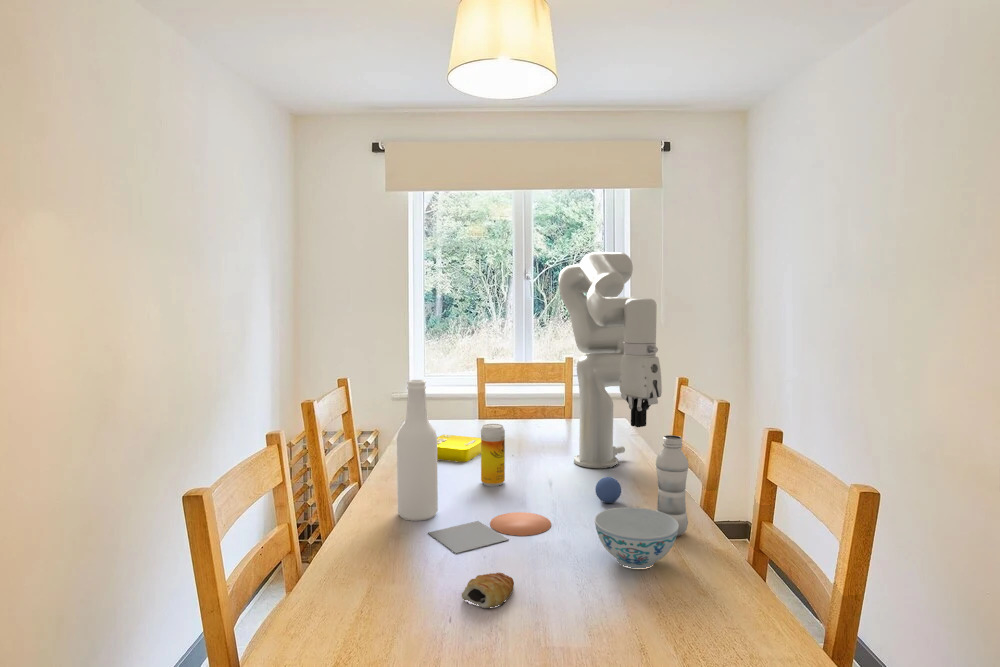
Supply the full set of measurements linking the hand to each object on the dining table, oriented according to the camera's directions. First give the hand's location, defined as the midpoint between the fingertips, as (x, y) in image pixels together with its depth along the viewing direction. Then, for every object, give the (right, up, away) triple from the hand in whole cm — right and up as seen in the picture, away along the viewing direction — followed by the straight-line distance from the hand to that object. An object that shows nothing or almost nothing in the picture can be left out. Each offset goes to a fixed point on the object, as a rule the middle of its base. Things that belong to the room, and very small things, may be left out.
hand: (638, 425), depth 153 cm
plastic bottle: (+2, -19, -23) cm, 30 cm away
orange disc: (-29, -18, -17) cm, 39 cm away
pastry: (-35, -21, -49) cm, 64 cm away
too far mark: (-40, -19, -24) cm, 50 cm away
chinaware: (-9, -20, -36) cm, 42 cm away
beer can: (-35, -17, +11) cm, 40 cm away
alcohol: (-52, -18, -12) cm, 56 cm away
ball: (-8, -14, -4) cm, 17 cm away
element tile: (-47, -15, +40) cm, 64 cm away
